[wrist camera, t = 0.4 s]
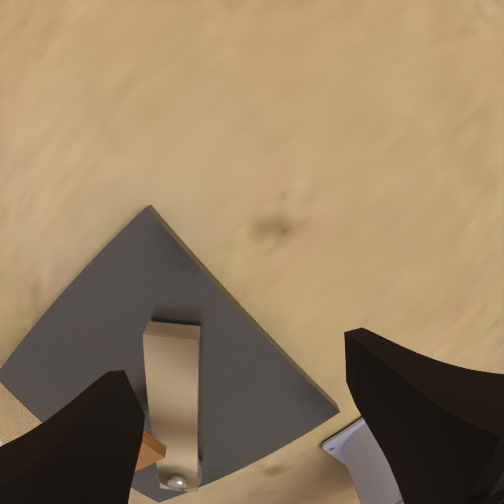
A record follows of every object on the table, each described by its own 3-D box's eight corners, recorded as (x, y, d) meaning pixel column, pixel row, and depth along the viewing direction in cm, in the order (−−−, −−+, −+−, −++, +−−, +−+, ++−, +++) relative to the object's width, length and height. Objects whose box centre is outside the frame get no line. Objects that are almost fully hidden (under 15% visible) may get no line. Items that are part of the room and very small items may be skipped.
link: (201, 478, 22) (201, 492, 20) (159, 473, 21) (156, 487, 20) (205, 326, 18) (204, 340, 16) (143, 320, 18) (137, 333, 16)
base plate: (336, 403, 22) (359, 454, 17) (159, 495, 24) (154, 538, 18) (150, 204, 17) (120, 220, 12) (1, 370, 19) (-31, 406, 14)
